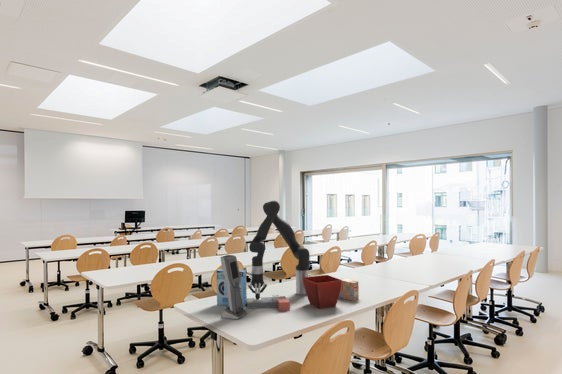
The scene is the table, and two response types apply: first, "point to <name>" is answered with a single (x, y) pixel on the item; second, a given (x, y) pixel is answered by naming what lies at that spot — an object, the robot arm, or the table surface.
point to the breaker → (275, 297)
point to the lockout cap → (283, 304)
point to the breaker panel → (263, 302)
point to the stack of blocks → (349, 290)
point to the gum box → (222, 288)
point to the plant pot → (322, 290)
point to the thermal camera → (232, 288)
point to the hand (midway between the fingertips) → (257, 299)
